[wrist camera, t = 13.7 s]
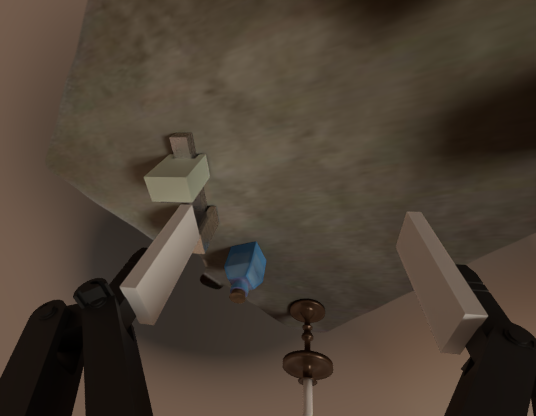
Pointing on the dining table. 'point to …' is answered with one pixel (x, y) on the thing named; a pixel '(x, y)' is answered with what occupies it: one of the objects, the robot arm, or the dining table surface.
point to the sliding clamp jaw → (177, 179)
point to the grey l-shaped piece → (203, 215)
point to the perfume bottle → (244, 270)
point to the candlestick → (307, 352)
